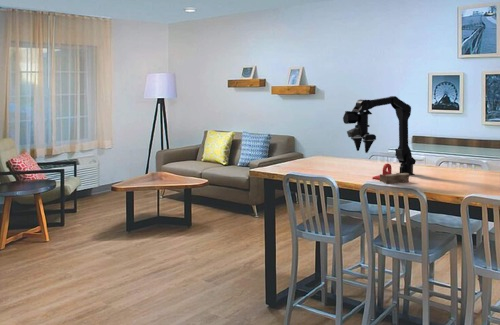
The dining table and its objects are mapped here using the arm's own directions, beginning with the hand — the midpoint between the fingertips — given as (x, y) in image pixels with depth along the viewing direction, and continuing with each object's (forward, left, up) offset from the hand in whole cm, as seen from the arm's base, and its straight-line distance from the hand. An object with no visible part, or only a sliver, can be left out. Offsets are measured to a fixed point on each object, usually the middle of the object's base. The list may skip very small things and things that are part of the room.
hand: (362, 151), depth 265 cm
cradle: (-10, +14, -15) cm, 23 cm away
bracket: (-10, +3, -15) cm, 18 cm away
